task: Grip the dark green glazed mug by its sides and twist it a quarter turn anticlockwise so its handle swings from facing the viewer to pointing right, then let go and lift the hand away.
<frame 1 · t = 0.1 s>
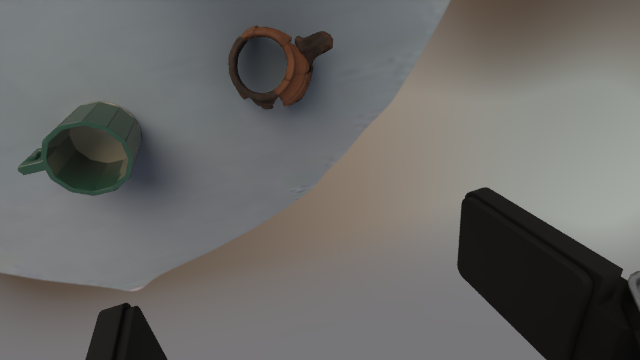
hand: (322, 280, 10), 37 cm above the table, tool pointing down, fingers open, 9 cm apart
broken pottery: (277, 61, 43), on the table
green mug: (83, 148, 36), point 4 cm above the table, hinge at 0.0°
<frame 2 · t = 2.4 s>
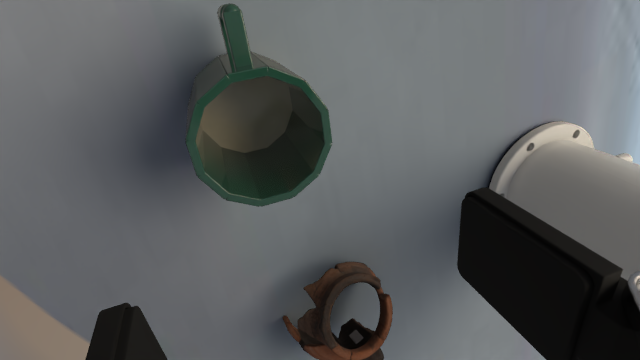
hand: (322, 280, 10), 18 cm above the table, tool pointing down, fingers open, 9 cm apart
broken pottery: (330, 297, 36), on the table
green mug: (247, 98, 21), point 4 cm above the table, hinge at 0.0°
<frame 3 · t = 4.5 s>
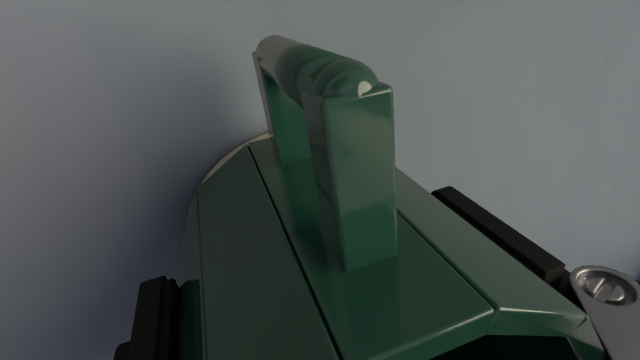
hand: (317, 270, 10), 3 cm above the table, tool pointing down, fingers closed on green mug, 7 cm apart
green mug: (329, 266, 8), point 4 cm above the table, hinge at 0.0°, touching gripper
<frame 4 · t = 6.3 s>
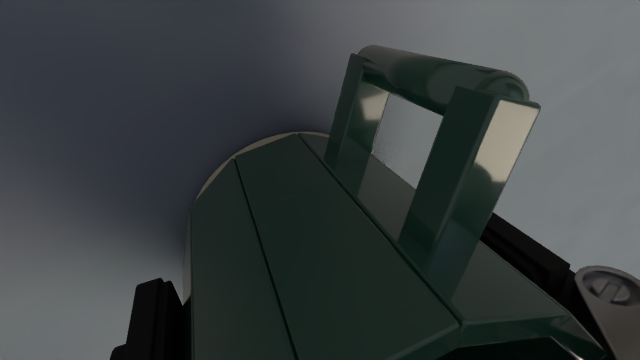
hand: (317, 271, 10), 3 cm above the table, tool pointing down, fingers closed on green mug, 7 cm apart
green mug: (350, 266, 9), point 4 cm above the table, hinge at 51.7°, touching gripper
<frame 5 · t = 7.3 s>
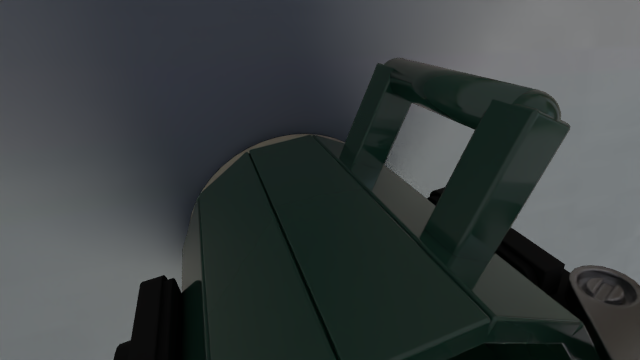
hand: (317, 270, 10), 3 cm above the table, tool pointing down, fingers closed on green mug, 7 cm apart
green mug: (356, 268, 9), point 4 cm above the table, hinge at 69.8°, touching gripper
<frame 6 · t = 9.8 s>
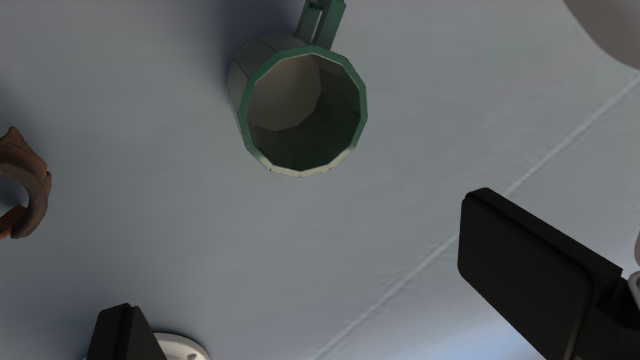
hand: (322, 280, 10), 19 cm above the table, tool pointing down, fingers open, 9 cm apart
green mug: (296, 78, 22), point 4 cm above the table, hinge at 69.5°
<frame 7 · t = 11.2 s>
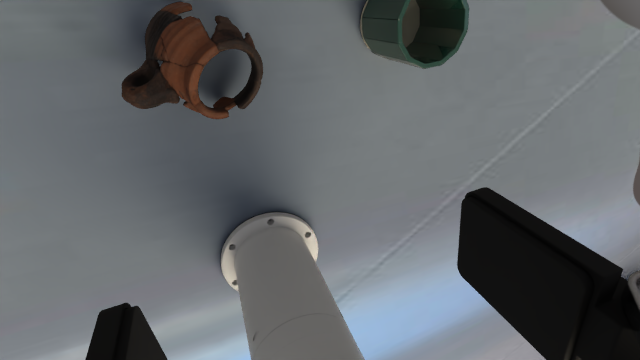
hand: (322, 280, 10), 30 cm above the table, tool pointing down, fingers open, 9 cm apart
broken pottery: (190, 62, 34), on the table
green mug: (416, 8, 35), point 4 cm above the table, hinge at 69.5°
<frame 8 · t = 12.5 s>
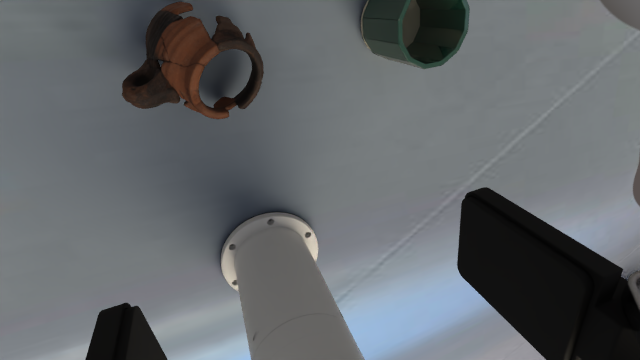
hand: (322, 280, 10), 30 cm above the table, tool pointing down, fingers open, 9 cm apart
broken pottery: (190, 61, 34), on the table
green mug: (416, 9, 35), point 4 cm above the table, hinge at 69.5°
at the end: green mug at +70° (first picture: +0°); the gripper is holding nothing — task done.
